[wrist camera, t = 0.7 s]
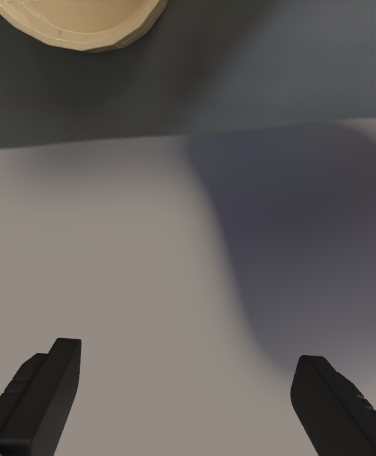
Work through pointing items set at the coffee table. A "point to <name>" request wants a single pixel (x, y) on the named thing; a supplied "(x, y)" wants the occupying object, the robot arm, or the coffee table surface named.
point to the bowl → (83, 21)
